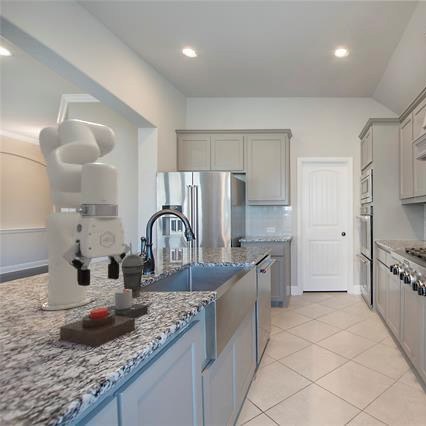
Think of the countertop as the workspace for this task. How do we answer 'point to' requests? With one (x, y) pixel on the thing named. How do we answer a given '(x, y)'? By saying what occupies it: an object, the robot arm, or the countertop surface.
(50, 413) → the countertop surface
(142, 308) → the knob
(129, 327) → the power button base
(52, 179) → the robot arm
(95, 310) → the power button
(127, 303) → the dial
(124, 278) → the beverage cup
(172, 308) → the countertop surface
